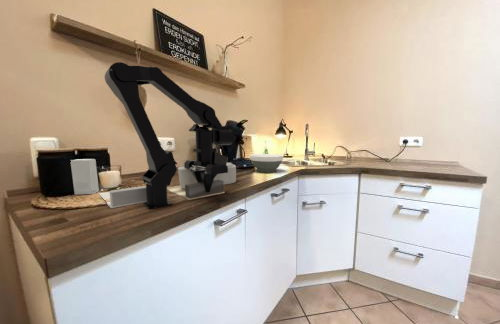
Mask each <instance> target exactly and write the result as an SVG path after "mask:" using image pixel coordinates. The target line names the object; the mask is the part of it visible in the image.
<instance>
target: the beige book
mask: <svg viewBox="0 0 500 324" xmlns="http://www.w3.org/2000/svg"><path fill="white" fill-rule="evenodd" d="M167 192H170V193H172V194H174V195H177V196H179V197H181V198H183V199H185V200H187V201H191V200H195V199H202V198H206V197H210V196H216V195H221V194H225V193H226V191H225V190H224V181H222V180H213V183H212V186H211V189H210V192H208V193H207V192H206V190H205V187H204V183H203V182H200V183H193V184H187V185H185V189H182V188H181V186H180V185H175V186H167Z"/></svg>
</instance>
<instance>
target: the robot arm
mask: <svg viewBox="0 0 500 324" xmlns="http://www.w3.org/2000/svg"><path fill="white" fill-rule="evenodd" d="M104 73H105V74H104V81H105V83H106V85H107V86H108V88H109V89H110V91H111V92H112V93H113V94H114V96H115V97H116V98H117V99H118V100H119V101H120V103H121V104H122V105H123V107H124V109H125V112H126V113H127V115H128V117H129V119H130V122H131V124H132V126H133V128H134V130H135V132H136V134H137V136H138V138H139V140H140V142H141V145H142V146H143V149H144V151H145V157H146V164H147V166H148V169H147V170H146V171H145V172H144V173H143V174H142V175H141V179H142V180H141V181H143V184H145V186H146V199H147V202H143V203H142V206H144V207H145V208H147V209H148V210H153V209H157V208H163V207H168V206H172V205H173V202H171V201H169V199H168V190H167V187H170V185H171V182H172V180H173V178H174V176H176V173H177V172H178V167H177V165H178V162H176V160H175V158H174V154H173V152H172V151H170V150H165V149H163V147H162V145H161V143H160V140H159V138H158V136H157V134H156V131H155V130H154V127H153V125H152V123H151V121H150V119H149V116H148V114H147V112H146V109H145V108H144V104H143V103H142V101H141V99H140V91H139V89H140V88H139V86H141V85H142V86H143V85H152V86H153V87H154V88H156V89H157V90H158V91H159V92H161V93H162V94H164V96H166V97H167V98H169V99H170V100H171V101H172V102H174V103H176V105H178V106H179V107H181V108H182V109H183V110H184V111H185V112H186V114H187V116H188V117H189V119H191V120H192V122H194V123H193V125H192V127H190V128H189V130H188V132H193V133H194V132H195V148H192V149H193V150H192V151H193V152H195V159H188V160H186V161H184V164H183V166H184V167H185V168H186V169H190V168H192V170H190V172H192V174H193V176H194V178H195V179H196V181H197V183H200V182H203V183H204V187H205V190H206V192H207V193H208V192H210V189H211V186H212V183H213V180H214V178H215V176H216V175H217V174H222V173H228V166H227V165H226V164H227V162H228V161H229V160H228V159H229V157H228V156H226V155H223V154H221V153H219V152H217V151H218V150H217V148H214V146H230V145H232V144H233V143H234V141H235V135H234V131H233V130H232V129H231V126H230V125H222V123H221V121H220V120H219V118H218V117H217V115H216V110H215V109H214V108H213V107H212V106H210V105H208V104H207V103H205V102H204V101H203V102H202V101H200V100H197V98H196V99H195V98H194V97H193V96H192V95H191V94H189V93H188V92H187V91H186V90H184V89H183V88H182V87H181V86H179V85H178V84H177V83H176V82H175V81H174V80H172V78H170V77H169V76H167V74H165V73H164V72H163V71H162V70H161V68H159V67H158V66H144V65H143V66H141V65H128V64H127V63H125V62H121V61H120V62H117V61H116V62H114V63H112V64H111V65H110V66H109V68H108V69H107V70H106V71H105V72H104Z"/></svg>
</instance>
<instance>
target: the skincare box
mask: <svg viewBox="0 0 500 324" xmlns="http://www.w3.org/2000/svg"><path fill="white" fill-rule="evenodd" d="M70 161H71V162H70V168H71V177H72V184H73V185H72V186H73V192H74V193H73V194H74V195H75V196H76V195H77V196H78V195H94V194H97V193H99V192H98V191H100V187H99V180H98V169H97V161H96V159H95V158H82V159H81V158H80V159H79V158H77V159H70ZM96 192H97V193H96ZM93 193H94V194H93Z"/></svg>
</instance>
